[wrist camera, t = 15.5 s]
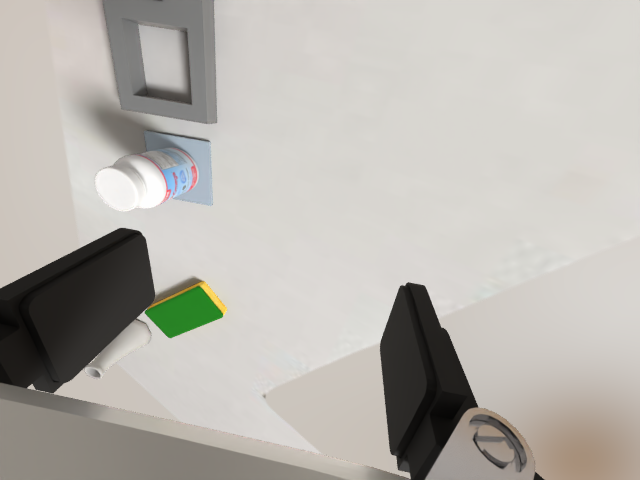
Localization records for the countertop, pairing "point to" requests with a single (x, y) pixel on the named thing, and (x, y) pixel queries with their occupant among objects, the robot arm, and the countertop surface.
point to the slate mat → (199, 154)
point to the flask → (119, 348)
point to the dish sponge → (186, 310)
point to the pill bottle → (146, 179)
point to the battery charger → (122, 23)
